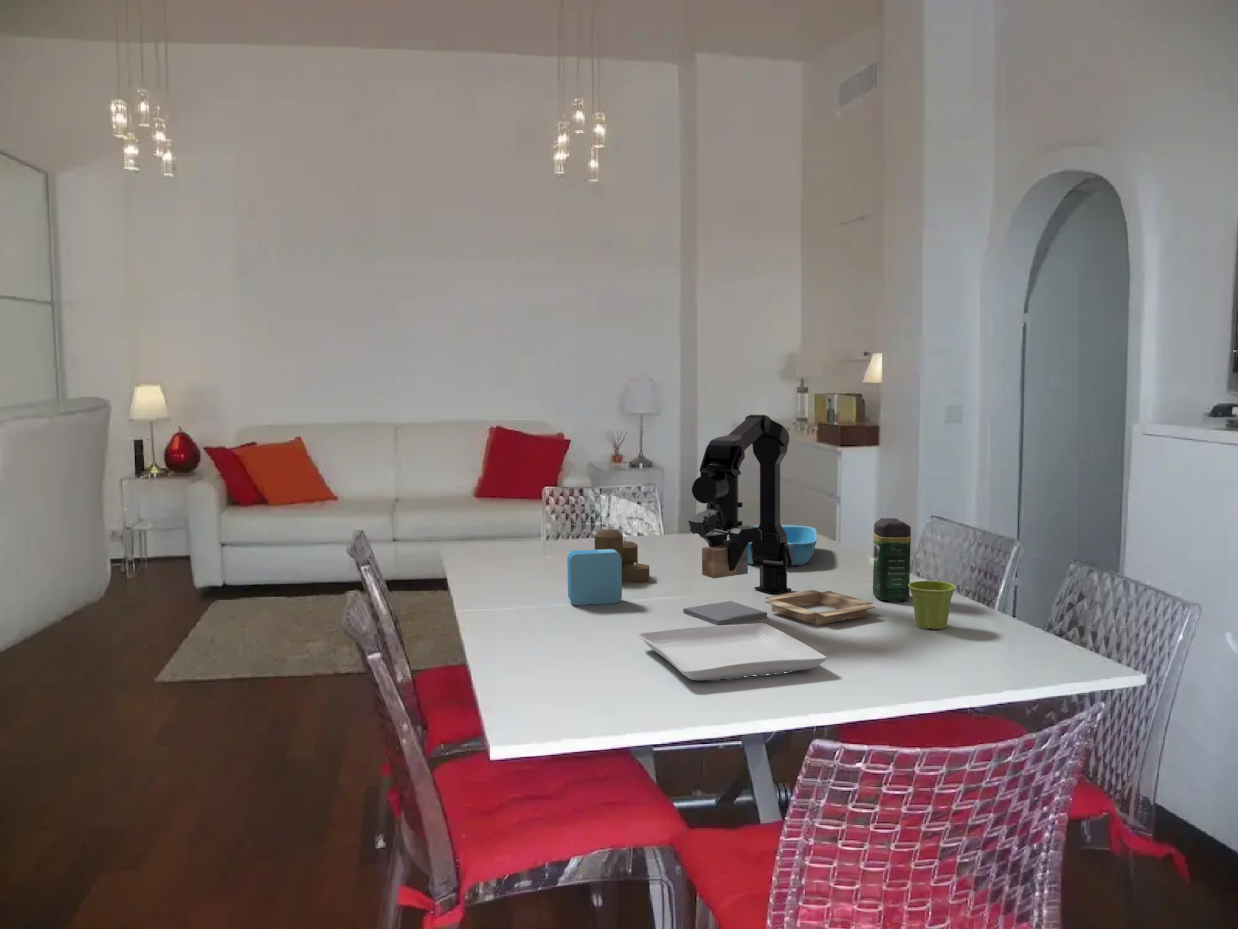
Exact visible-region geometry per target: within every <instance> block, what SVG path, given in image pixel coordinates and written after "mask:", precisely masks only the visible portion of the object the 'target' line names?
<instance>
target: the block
mask: <svg viewBox="0 0 1238 929" xmlns="http://www.w3.org/2000/svg"><path fill="white" fill-rule="evenodd" d="M748 564H749V563H748V546H746V548H745V550H744V552H743V553H742V555H741V557H740V559H739V562H738V564H737V566H736V568H735V570H734V571H730V570H729V564H728V551H727V546H726V545H719V546H711V547H709V546H705V547H704V546H703V547H701V575H702V576H705V577H707V578H711V579H720V578H728V577H734V576H740V575H742V576H743V575H746V574H747V575H748V574H749V565H748Z"/></svg>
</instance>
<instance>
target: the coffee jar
mask: <svg viewBox="0 0 1238 929" xmlns="http://www.w3.org/2000/svg"><path fill="white" fill-rule="evenodd" d="M911 532H912V529H911V525H909V524H908V523H907V522H904V521H903V520H900V519H899V518H897V517H896V518H893V517H885V518H884V517H883V518H882V517H881V518H880V519H879V520H877V521H875V523H874V526H873V568H872V569H873V572H872V573H873V575H872V594H873V596H874V597H875V598H877V599H878V600H881V601H889V602H891V603H892V602H894V603H896V602H901V601H908V600H909V599H910V596H911V595H910V594H911V591H910V588H909V587H908V584H909V583H911V578H910V577H911V575H910V574H911V542H912V536H911V534H912V533H911Z"/></svg>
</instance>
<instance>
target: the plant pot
mask: <svg viewBox="0 0 1238 929" xmlns="http://www.w3.org/2000/svg"><path fill="white" fill-rule="evenodd" d="M908 587H909V588H910V594H911V596H912V605H913V611H914V618H915V626H916V627H918V628H921V629H923V628H924V629H923V630H927V629H933V630H935V629H939V630H943V629H946V628H947V626H948V621H949V614H950V607H951V601H952V597H953V595H954V591H955V590H956V588H957V586H956V585H955V584H953V583H950V582H946V581H940V580H939V581H938V580H918V581H912V582H911V581H910V583H909V584H908Z"/></svg>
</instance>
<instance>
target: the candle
mask: <svg viewBox="0 0 1238 929" xmlns="http://www.w3.org/2000/svg"><path fill="white" fill-rule="evenodd" d="M606 526H607V528H603V529H602V528H601V529H599V531H597V532H596V534H595V535H594V550H602V549H614V550H616V551H617V552H618V553H619V554H620V555H621V559H622V583H626V582H627V584H633V583H636V584H644V583H645V584H646V583H650V582H649V581H650V565H649V564H644V563H639V558H638V557H639V556H638V554H639V550H638V544H637V543H635V542H634V541H629V540H626V537H624V534H623V533H622V531H620V530H619V529H617V528H611V523H610V521H608V522H607V525H606Z"/></svg>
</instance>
